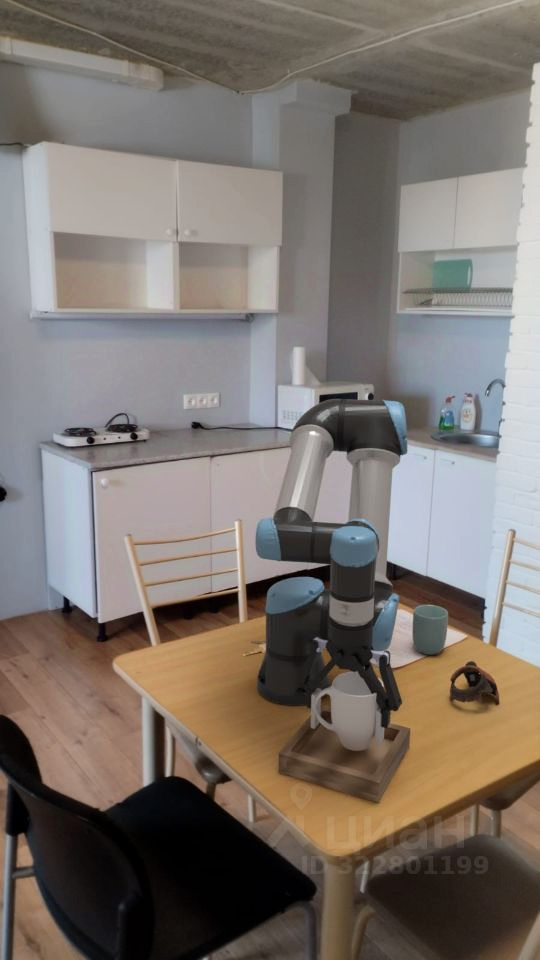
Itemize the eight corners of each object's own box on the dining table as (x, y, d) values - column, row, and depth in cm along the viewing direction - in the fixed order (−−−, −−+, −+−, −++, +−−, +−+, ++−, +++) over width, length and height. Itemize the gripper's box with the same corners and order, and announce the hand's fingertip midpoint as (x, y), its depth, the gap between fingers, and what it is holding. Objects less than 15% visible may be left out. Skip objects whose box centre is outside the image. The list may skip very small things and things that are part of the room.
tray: (278, 772, 131) (278, 753, 130) (318, 722, 147) (319, 704, 146) (378, 802, 123) (379, 782, 122) (409, 746, 139) (410, 728, 138)
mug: (379, 730, 138) (382, 671, 135) (382, 760, 130) (384, 697, 127) (315, 727, 140) (316, 668, 136) (313, 756, 131) (314, 694, 128)
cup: (420, 640, 182) (422, 601, 180) (450, 649, 178) (453, 609, 176) (405, 652, 176) (407, 612, 174) (437, 661, 172) (439, 620, 169)
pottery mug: (508, 714, 151) (494, 686, 148) (462, 729, 154) (448, 701, 150) (494, 672, 162) (481, 645, 158) (452, 686, 164) (438, 660, 161)
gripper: (278, 612, 131) (277, 726, 136) (413, 640, 120) (406, 762, 126) (296, 598, 137) (294, 707, 142) (425, 623, 127) (418, 739, 132)
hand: (346, 733), depth 134 cm, fingers closed on mug, 11 cm apart
